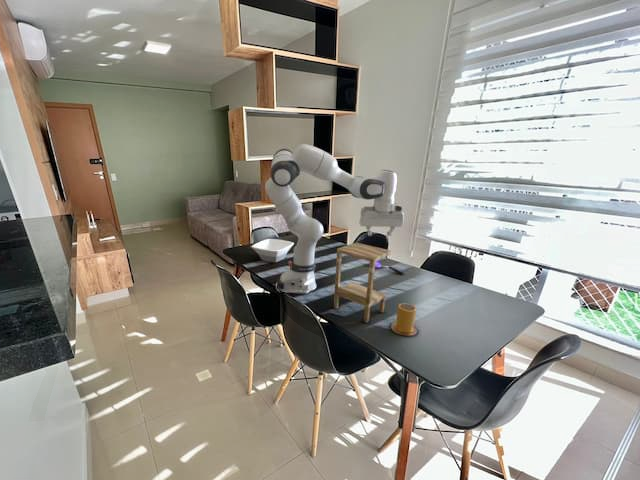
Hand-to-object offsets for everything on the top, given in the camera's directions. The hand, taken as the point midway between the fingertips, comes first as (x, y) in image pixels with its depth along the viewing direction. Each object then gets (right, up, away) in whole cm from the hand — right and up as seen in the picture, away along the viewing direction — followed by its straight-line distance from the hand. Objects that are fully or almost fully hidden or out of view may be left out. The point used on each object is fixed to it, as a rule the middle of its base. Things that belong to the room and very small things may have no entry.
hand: (379, 235), depth 139 cm
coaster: (+3, -41, -20) cm, 46 cm away
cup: (+3, -41, -20) cm, 46 cm away
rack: (-12, -35, -5) cm, 38 cm away
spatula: (+19, -16, +41) cm, 48 cm away
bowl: (-53, -9, +64) cm, 83 cm away
